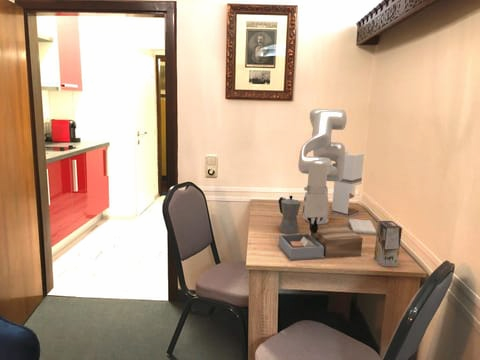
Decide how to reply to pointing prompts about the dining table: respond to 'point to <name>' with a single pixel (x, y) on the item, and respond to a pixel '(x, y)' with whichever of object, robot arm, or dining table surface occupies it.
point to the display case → (347, 185)
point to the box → (303, 252)
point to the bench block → (338, 241)
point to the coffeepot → (289, 215)
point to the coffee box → (387, 243)
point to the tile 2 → (307, 242)
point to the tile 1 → (296, 244)
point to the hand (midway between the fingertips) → (313, 231)
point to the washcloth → (362, 226)
